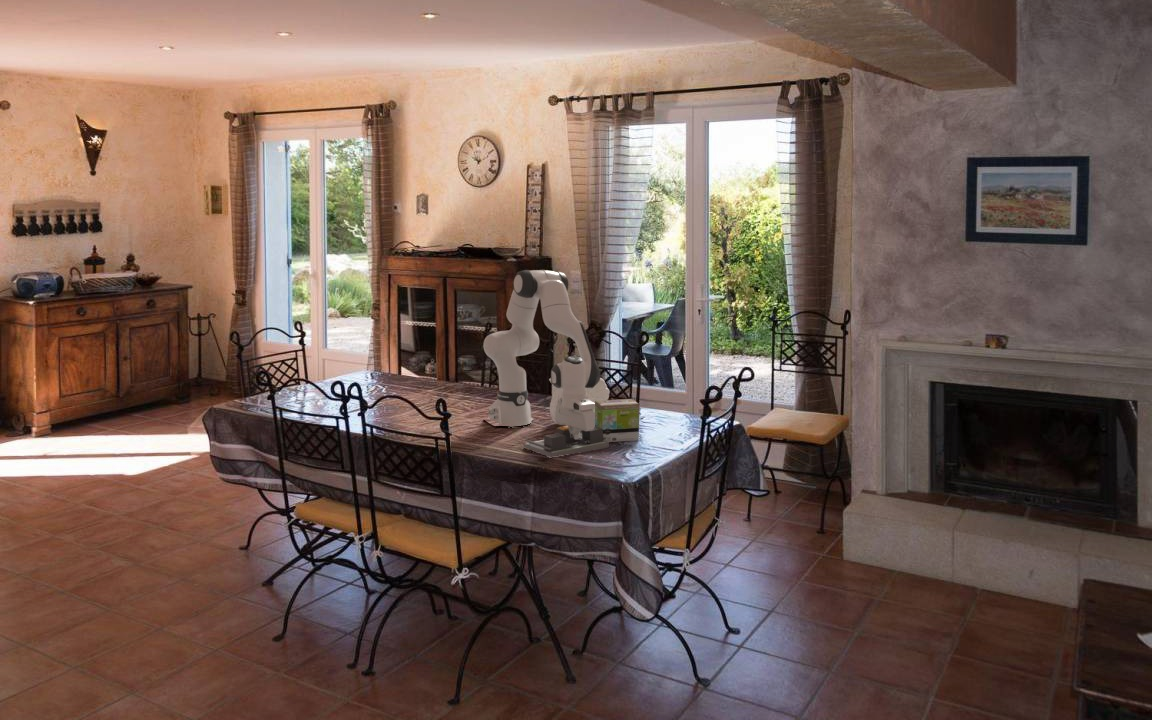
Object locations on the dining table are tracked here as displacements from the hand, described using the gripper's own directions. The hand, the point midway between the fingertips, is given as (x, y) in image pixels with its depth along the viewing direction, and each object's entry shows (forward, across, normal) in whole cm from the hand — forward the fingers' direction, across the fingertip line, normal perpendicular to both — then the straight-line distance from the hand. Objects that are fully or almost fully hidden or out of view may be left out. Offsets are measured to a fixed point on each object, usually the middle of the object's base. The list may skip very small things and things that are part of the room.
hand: (574, 438), depth 365 cm
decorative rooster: (+5, -32, +26) cm, 42 cm away
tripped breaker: (+2, -5, 0) cm, 6 cm away
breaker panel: (+5, -5, 0) cm, 7 cm away
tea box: (+5, -4, +23) cm, 24 cm away
